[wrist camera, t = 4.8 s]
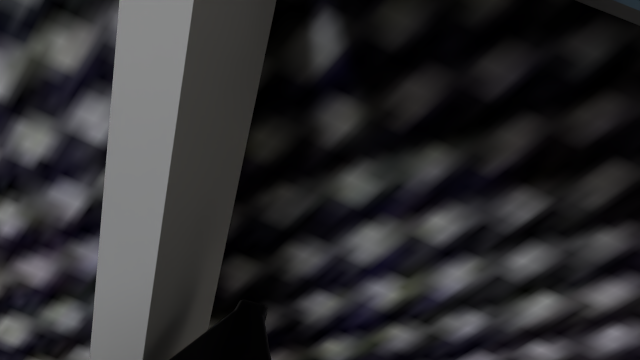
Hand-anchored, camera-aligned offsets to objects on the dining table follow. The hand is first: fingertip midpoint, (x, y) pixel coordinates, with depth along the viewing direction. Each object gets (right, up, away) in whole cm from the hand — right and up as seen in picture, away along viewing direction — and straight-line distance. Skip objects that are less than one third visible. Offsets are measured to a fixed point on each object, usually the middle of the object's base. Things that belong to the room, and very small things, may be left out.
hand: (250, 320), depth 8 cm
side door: (-1, +3, +2) cm, 4 cm away
